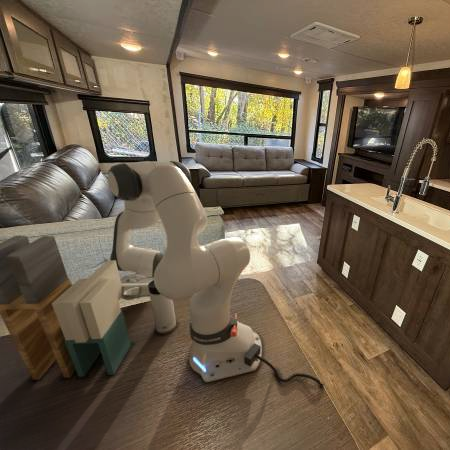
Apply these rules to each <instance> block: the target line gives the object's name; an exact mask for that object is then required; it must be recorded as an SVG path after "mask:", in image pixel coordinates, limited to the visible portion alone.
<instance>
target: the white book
mask: <svg viewBox="0 0 450 450" xmlns="http://www.w3.org/2000/svg"><path fill="white" fill-rule="evenodd" d="M119 272H120V271H118V268H117V264H116V260H110V259H107V260H106V261H105V262H104V263H103V264H101V265H100V266H99V268H96V270H95V271H94V272H93V273H91V275H90V276H88V277H87V278H85V279H86V280H85V281H84V282H83V283H82V284H81V285H80V286H79V287H78V288H77V289H76V290H74V291H73V292H72V293H71V294H70V295H69V296H68V297H67V298H66V299H65V300H64V301H62V302H61V304H62V307H63V310H64V312H65V315H66V318H67V320H68V323H69V326H70V329H71V331H72V334H73V337H74V339H75V342H76V343H82V342H87V340H88V339H89V338H90V337H91V336H90V333H89V330H88V327H87V324H86V321H85V318H84V315H83V312H82V309H81V306H80V302H81V301H82V300H83V299H84V298H85V297H86V296H87V295H88V294H89V293H90V292H91V291H92V290H93V289H94V288H95V287H96V286H97V285H98V284H99V283H100V282H101V281H102V279H105V278H113V281H114V285H115V289H116V293H117V297H118V301H121V299H122V298H121V297H122V294H123V289H122V285H121V280H120V279H121V276H120V273H119Z"/></svg>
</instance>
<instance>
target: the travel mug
mask: <svg viewBox="0 0 450 450" xmlns="http://www.w3.org/2000/svg"><path fill="white" fill-rule="evenodd" d="M148 288H149V294H150V296H149V300H150V305H151V310H152V315H153V321H154V327H155V331H156V332H157V333H158V334H161V335H162V334H169V333H171V332H172V331H173V330H174V329H175V328H176V326H177V321H176V314H175V308H174V307H175V306H174V300H170V299H168V298H166V297H164V296H163V295H161V294H160V293H159V292H158V290H157V288H156V286H155V283H154V280H153V281H151V282H150V283H149V284H148Z"/></svg>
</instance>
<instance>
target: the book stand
mask: <svg viewBox="0 0 450 450" xmlns="http://www.w3.org/2000/svg"><path fill="white" fill-rule="evenodd" d="M72 285H73V283H72V280H71V279H70V278H69V276H68V273H67V271H66V268H65V265H64V261H63V259H62V256H61V252H60V249H59V246H58V244H57V240H56V238H55V236H54V235H42V236H41V237H39V238H37V239H35V240H33V241H32V242H30V240H29V237H28V235H14V236H12V237H10V238H8V239H6V240H4V241H1V242H0V317H1V319H2V321H3V323H4V325H5V327H6V329H7V331H8V333H9V336H10V337H11V339H12V341H13V343H14V346H15V347H16V349H17V351H18V353H19V355H20V357H21V358H22V361H23V363H24V365H25V367H26V368H27V371H28V373H29V375H30V377H31V379H32V380H40V379H41V377H43V376H44V374H45V373H46V372H47V371H48V370H49V368H50V367H51V366H52V365H53V364H54V363H55V361H56V362H57V364H58V366H59V369H60V371H61V373H62V376H63V378H71V377H72V376H73V375H74V373H75V372H76V369H75V366H74V364H73V361H72V359H71V356H70V354H69V351H68V349H67V346H66V344H65V341H64V340H65V337H64V334H63V332H62V329H61V327H60V324H59V321H58V319H57V316H56V314H55V311H54V309H53V306H52V303H53V302H54V301H55V300H56V299H57V298H58V297H60V296H61V295H62V294H63V293H64V292H65V291H66V290H67V289H69V288H70V287H71V286H72Z"/></svg>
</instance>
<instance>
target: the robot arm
mask: <svg viewBox="0 0 450 450" xmlns="http://www.w3.org/2000/svg"><path fill="white" fill-rule="evenodd" d="M107 185H108V187H109V189H110V191H111V193H112V194H113V196H114V197H115V198H117V199H119V200H120V201H123V203H124V209H123V211H120V212H119V213H118V215H117V216H116V218H115V221H114V226H113V239H112V248H111V249H112V250H111V253H110V257H109V260H116V264H117V268H118V272H130V273H132V274H127V275H124V276H122V277H120V280H121V285H122V289H123V294H122V297H121V298H120V299H123V300H126V301H133V300H135V299H140V298H146V297H148V298H149V297H150V294H149V288H148V284H149V283H150V282H151V281H153V280H154V283H155V286H156V288H157V290H158V292H159V293H160V294H161V295H163V296H164V297H166V298H168V299H170V300H173V301H176V300H180V299H184V298H187V297H190V296H192V297H190V300H189V305H188V307H189V317H190V323H189V335H190V339H191V350H190V353H189V357H188V361H189V365H190V367H191V369H192V370H193V371H195V372H196V373H198V374H199V375H200V377H201V378H202V380H203V381H204V382H205V383H210V382H215V381H218V380H222V379H226V378H230V377H235V376H239V375H242V374H247V373H250V372H254V371H256V370H257V369H258V368H259V366H260V363H261V362H263V364H266V366H268V367H269V368H270V369H271V370H272V371H273V372H274V373H275V376H276V377H277V379H278V380H279V381H280V382H282V383H289V382H290V381H292V379H294V378H297V377H299V378H300V377H301V378H307V379H310V380H312V381H314V382H315V383H317V384H318V385H319V386H320V387H321V388H324V387H325V385H324V383H323V382H322V381H321V380H320V379H318V378H316V377H315V376H313V375H310V374H307V373H299V372H298V373H293V374H292V375H290V376H289V377H287V378H283V377H281V375H280V373H279V371H278V370H277V369H276V367H275V366H274V365H273V364H272V363H271V362H269V360H267V359H265V358H263V357H262V355H263V347H262V346H263V345H262V340H261V338H260V335H259V334H258V333H257V332H254V331H253V329H252V328H251V326H249V325H246V324H245V323H242V322H240V321H238V317H237V316H238V315H237V312H236V313H235V314H234V316H233V315H232V314H231V299H232V294H233V291H234V290H235V286H236V284H237V283H238V282H237V281H238V280H239V278H240V276H241V275H242V273H243V272H244V270H245V269H246V268H247V267H248V265H250V261H251V251H250V248H249V246H248V245H247V243H246V241H244V240H243V239H242V238H240V237H227V238H220V239H218V240H215V241H211V242H209V243H205V244H203V245H200V243H199V239H198V236H200V235H201V233H202V232H203V231H204V230H205V228H206V227H207V225H208V222H209V221H208V215H207V213H206V210H205V209H204V206H203V204H202V202H201V200H200V198H199V196H198V194H197V192H196V190H195V188H194V187H193V185H192V175H191V172H190V169H189V168H188V167H187V166H186V165H185V164H184V163H183V162H180V161H175V160H174V161H173V160H170V161H150V160H146V161H137V162H136V161H135V162H130V163H125V162H122V163H119V164H115V165H112V166H110V168H109V170H108V172H107ZM160 221H161V224H162V226H163V229H164V232H165V236H166V247H165V251H164V253H163V252H162V251H161V250H156V249H150V248H143V247H137V246H134V245H132V244H131V243H130V242H131V233H132V231H136V230H137V231H138V230H144V229H148V228H150V227H153V226H154V225H156V224H157V223H159V222H160ZM320 382H321V383H322V384H321V383H320ZM322 385H323V386H324V387H323V386H322Z"/></svg>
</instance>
